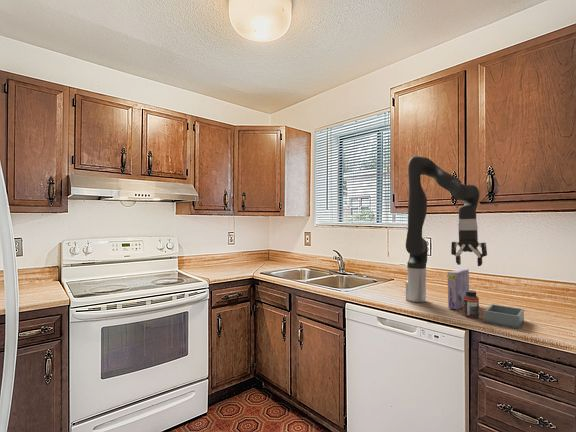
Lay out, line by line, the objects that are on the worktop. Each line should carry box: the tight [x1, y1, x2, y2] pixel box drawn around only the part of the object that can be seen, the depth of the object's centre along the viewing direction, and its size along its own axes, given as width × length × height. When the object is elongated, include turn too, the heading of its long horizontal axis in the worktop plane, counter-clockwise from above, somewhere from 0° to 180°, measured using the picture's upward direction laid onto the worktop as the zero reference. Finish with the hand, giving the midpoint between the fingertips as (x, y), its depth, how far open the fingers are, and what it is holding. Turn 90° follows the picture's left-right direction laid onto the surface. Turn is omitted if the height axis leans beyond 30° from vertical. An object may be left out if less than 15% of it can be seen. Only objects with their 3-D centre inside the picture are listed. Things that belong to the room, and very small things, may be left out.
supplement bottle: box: [463, 289, 480, 319], centre depth 152 cm, size 6×6×11 cm
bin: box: [484, 303, 525, 330], centre depth 144 cm, size 12×14×5 cm
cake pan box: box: [447, 268, 470, 311], centre depth 170 cm, size 19×5×18 cm, turn 136°
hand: (469, 265), depth 154 cm, fingers open, 8 cm apart
